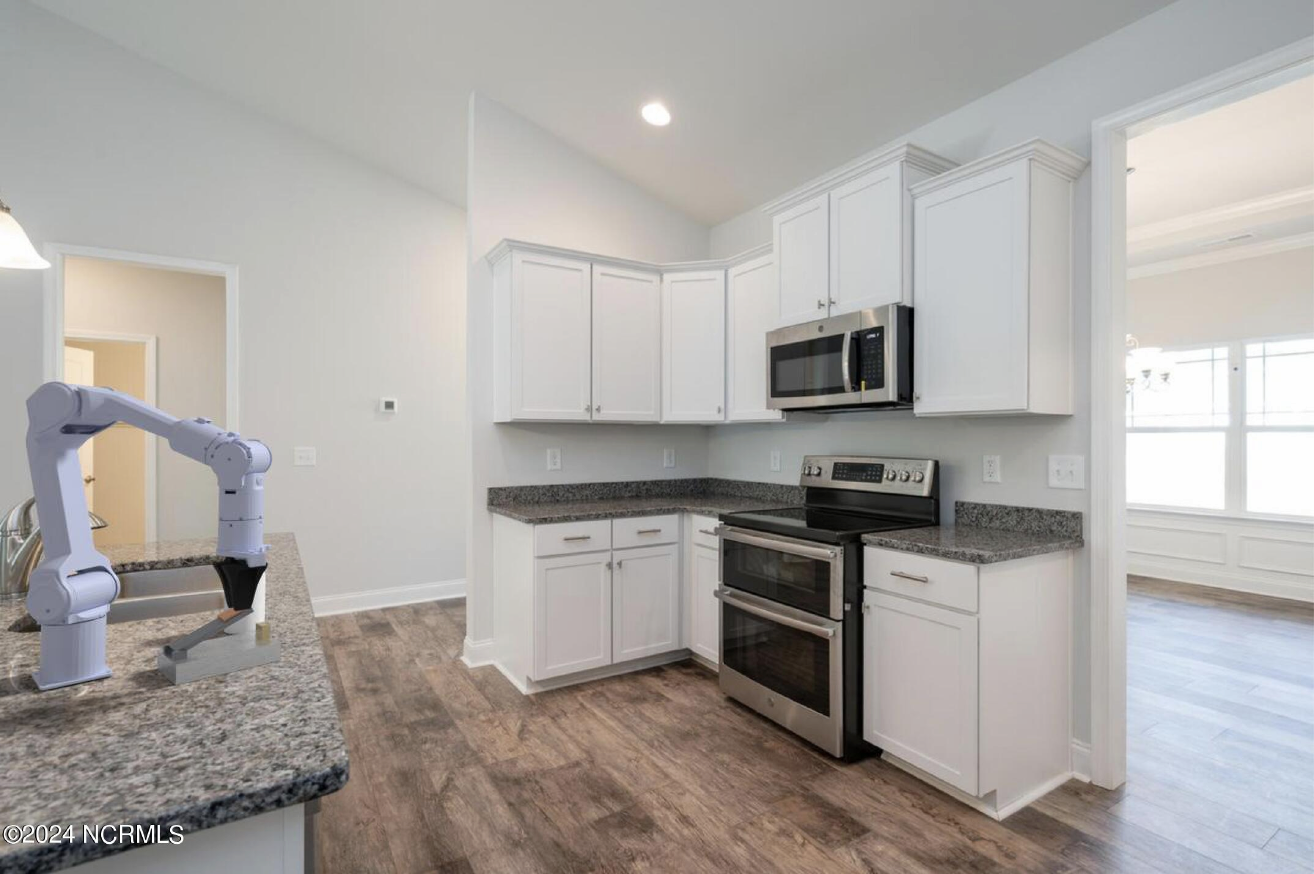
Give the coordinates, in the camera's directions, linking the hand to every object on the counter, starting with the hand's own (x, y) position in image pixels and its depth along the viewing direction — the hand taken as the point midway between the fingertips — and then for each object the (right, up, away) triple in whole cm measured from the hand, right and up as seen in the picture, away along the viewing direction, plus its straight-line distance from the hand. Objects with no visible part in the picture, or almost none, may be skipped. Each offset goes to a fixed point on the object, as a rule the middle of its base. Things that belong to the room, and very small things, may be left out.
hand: (239, 608), depth 95 cm
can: (-15, -11, +23) cm, 29 cm away
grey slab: (-7, -5, +4) cm, 9 cm away
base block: (-6, -10, +5) cm, 13 cm away
